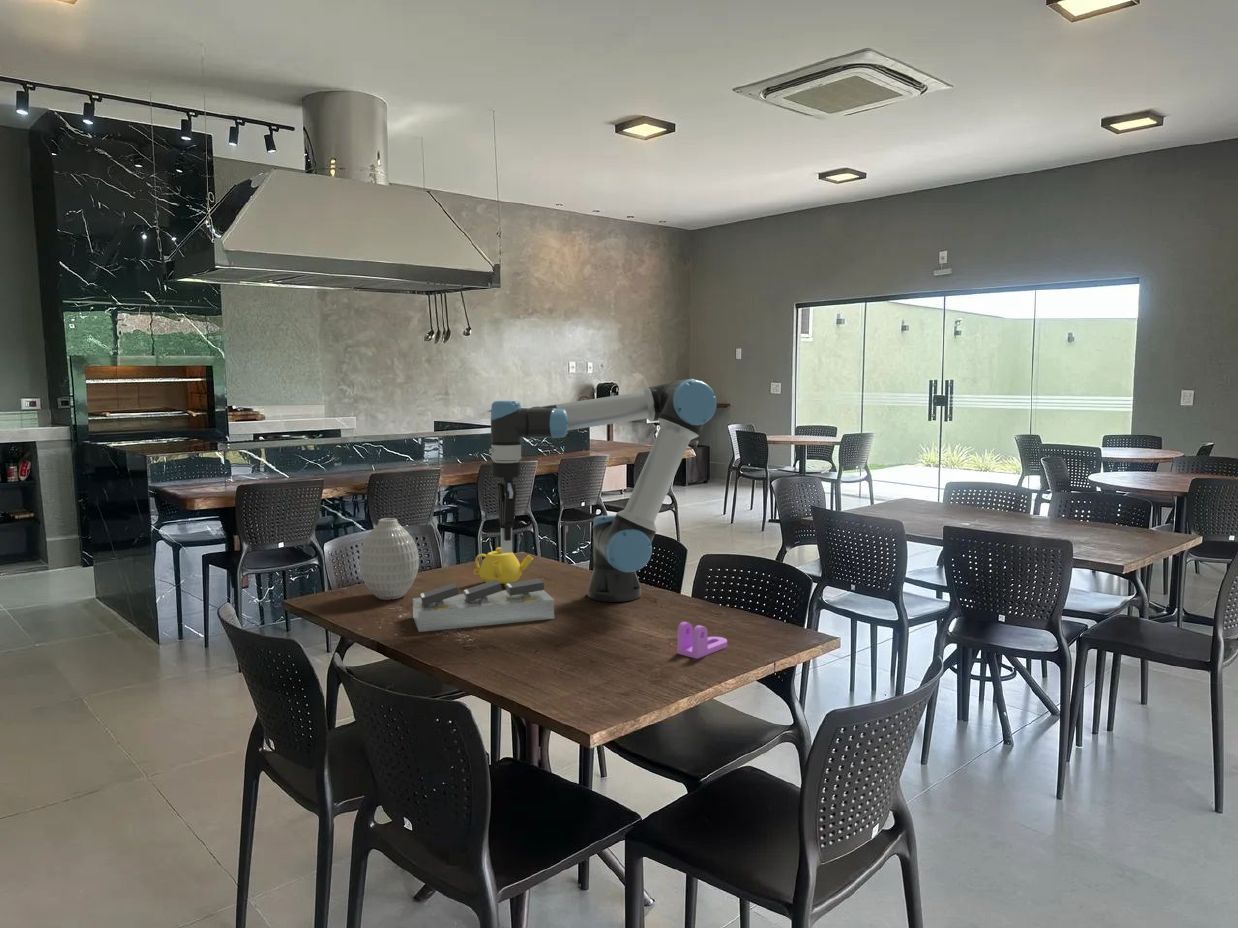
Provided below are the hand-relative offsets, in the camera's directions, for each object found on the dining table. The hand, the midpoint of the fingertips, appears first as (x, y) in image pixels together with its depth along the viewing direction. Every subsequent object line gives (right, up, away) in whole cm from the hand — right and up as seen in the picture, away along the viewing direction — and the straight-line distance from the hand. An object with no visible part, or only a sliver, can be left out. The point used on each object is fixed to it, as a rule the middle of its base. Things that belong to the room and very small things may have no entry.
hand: (506, 552), depth 221 cm
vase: (-36, -15, +22) cm, 45 cm away
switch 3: (+4, -9, +2) cm, 11 cm away
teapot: (-6, -14, +35) cm, 38 cm away
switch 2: (-6, -10, -1) cm, 11 cm away
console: (-6, -17, -1) cm, 18 cm away
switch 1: (-16, -10, -5) cm, 20 cm away
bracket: (+49, -20, -27) cm, 59 cm away
